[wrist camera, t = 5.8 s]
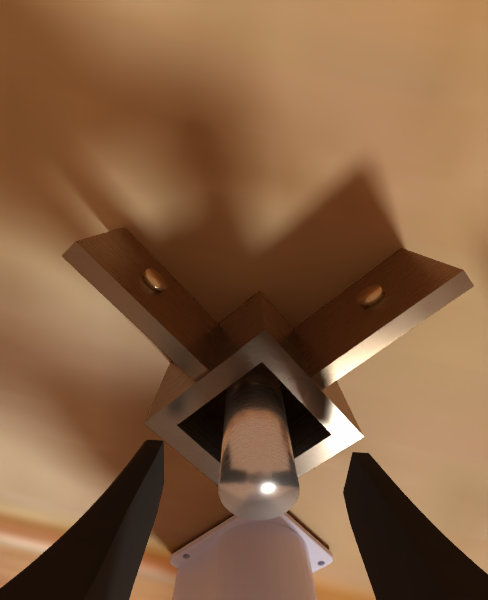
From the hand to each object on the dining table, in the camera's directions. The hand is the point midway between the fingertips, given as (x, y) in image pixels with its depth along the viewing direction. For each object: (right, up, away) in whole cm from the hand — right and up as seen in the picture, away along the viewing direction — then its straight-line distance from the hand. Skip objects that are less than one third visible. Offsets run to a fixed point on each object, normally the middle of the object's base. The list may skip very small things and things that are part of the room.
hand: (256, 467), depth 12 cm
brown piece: (0, +7, +5) cm, 9 cm away
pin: (0, +2, +6) cm, 7 cm away
